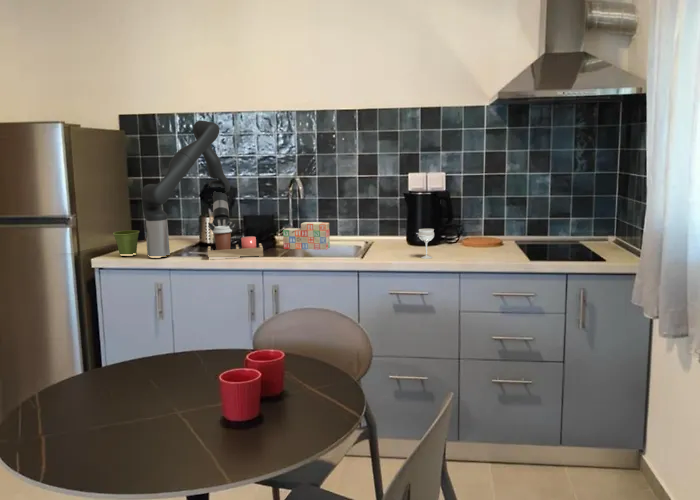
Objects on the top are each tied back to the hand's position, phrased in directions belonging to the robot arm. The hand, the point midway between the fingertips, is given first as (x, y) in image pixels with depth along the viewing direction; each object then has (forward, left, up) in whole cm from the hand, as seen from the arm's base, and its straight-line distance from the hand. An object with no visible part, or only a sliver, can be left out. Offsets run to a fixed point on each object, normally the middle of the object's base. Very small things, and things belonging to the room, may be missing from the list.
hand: (222, 239), depth 315 cm
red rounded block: (+22, -5, -5) cm, 23 cm away
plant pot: (-29, -32, -5) cm, 44 cm away
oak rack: (+18, -10, -5) cm, 21 cm away
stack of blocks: (+35, +20, -5) cm, 41 cm away
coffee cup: (+5, -5, -5) cm, 9 cm away
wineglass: (+98, +22, -5) cm, 100 cm away
